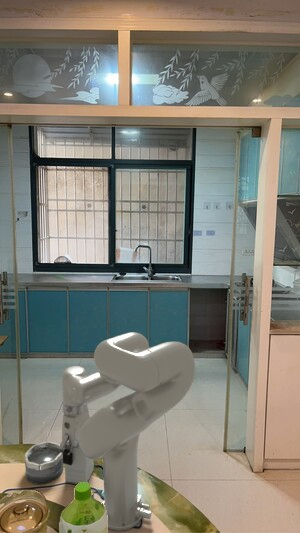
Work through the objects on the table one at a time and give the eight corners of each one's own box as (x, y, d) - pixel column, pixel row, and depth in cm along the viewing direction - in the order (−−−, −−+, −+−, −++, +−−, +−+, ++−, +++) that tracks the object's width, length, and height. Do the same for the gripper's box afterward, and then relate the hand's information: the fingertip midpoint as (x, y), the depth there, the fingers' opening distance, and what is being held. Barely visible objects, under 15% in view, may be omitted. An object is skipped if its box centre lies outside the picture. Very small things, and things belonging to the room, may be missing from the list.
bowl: (70, 463, 125) (69, 445, 124) (49, 488, 114) (48, 468, 113) (40, 456, 129) (39, 438, 128) (18, 479, 118) (16, 460, 117)
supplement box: (94, 469, 122) (93, 434, 120) (86, 485, 115) (85, 449, 113) (73, 465, 123) (72, 431, 121) (64, 481, 116) (63, 445, 114)
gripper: (71, 423, 106) (71, 475, 109) (98, 394, 122) (98, 440, 125) (49, 418, 109) (50, 468, 112) (78, 390, 125) (78, 435, 128)
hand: (75, 453), depth 118 cm, fingers open, 9 cm apart
